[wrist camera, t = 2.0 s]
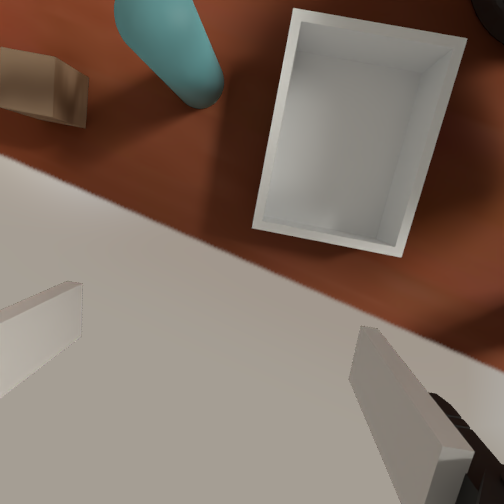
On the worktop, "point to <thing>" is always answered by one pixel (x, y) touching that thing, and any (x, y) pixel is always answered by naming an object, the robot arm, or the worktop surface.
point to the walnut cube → (42, 87)
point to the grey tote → (354, 130)
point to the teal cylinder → (172, 46)
